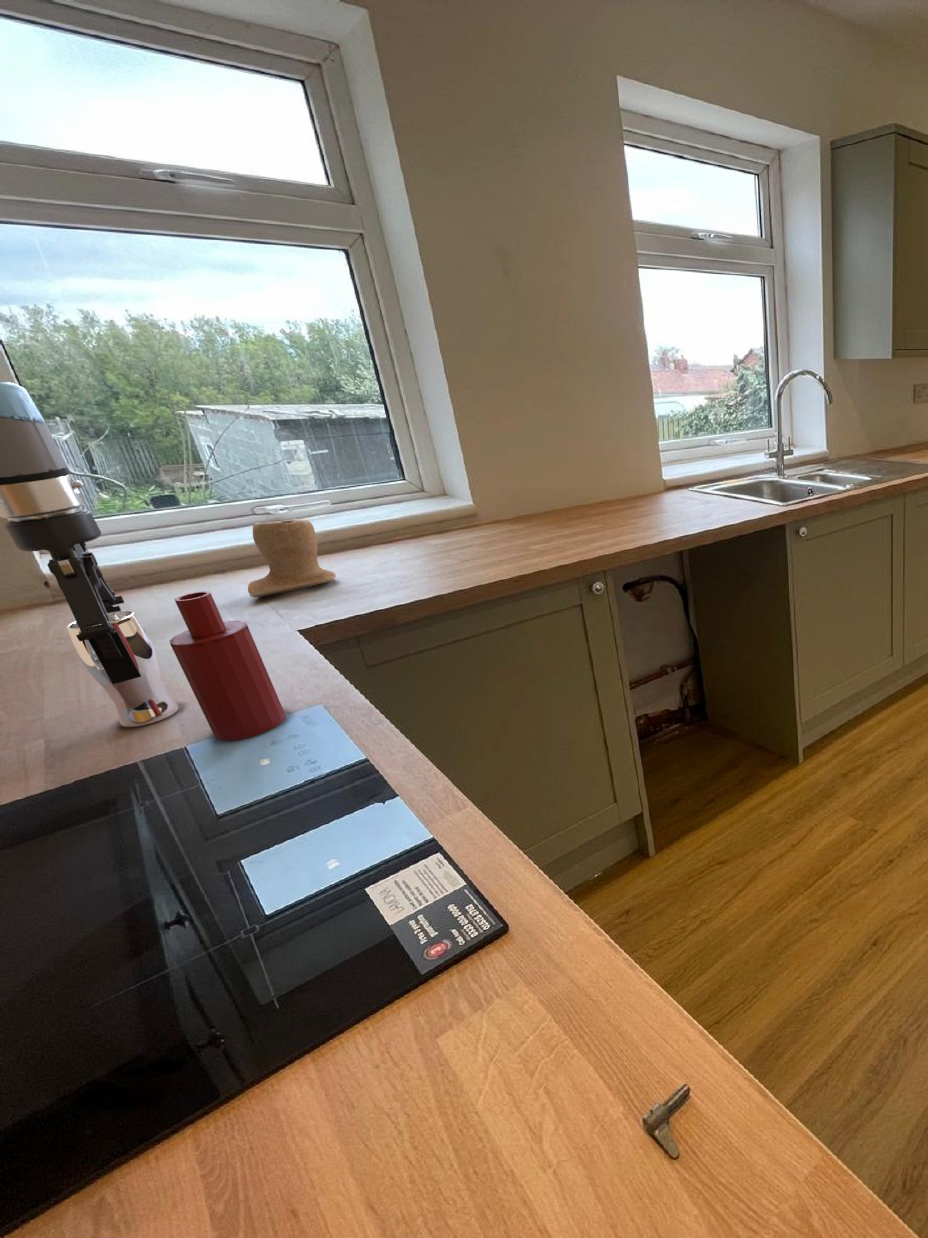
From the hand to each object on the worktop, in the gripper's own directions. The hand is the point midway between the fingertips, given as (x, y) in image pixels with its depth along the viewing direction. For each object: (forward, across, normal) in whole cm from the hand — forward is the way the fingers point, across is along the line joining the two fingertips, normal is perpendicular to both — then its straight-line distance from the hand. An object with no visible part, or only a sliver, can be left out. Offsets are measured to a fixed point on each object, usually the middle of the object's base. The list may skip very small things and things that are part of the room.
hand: (127, 664), depth 93 cm
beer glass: (+8, 0, 0) cm, 8 cm away
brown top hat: (+9, +54, -24) cm, 60 cm away
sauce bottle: (+8, -15, -10) cm, 20 cm away
